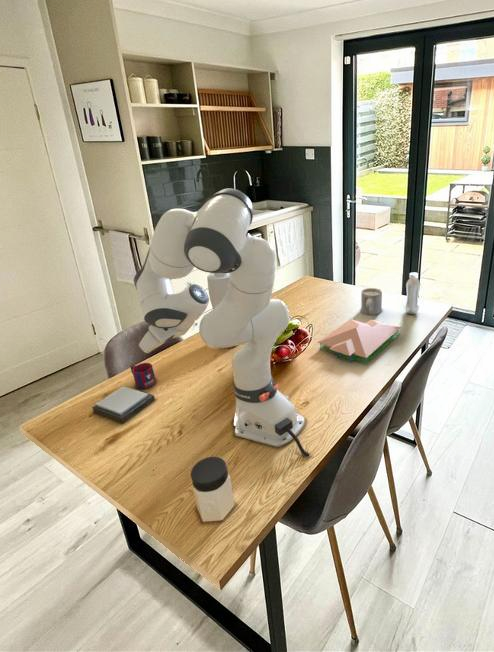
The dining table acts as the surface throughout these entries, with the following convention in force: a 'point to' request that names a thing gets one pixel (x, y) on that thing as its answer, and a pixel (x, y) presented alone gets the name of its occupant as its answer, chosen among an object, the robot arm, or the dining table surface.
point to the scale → (123, 404)
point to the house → (359, 338)
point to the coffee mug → (371, 301)
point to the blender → (217, 287)
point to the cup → (143, 375)
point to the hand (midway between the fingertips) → (159, 343)
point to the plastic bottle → (412, 294)
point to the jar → (212, 489)
